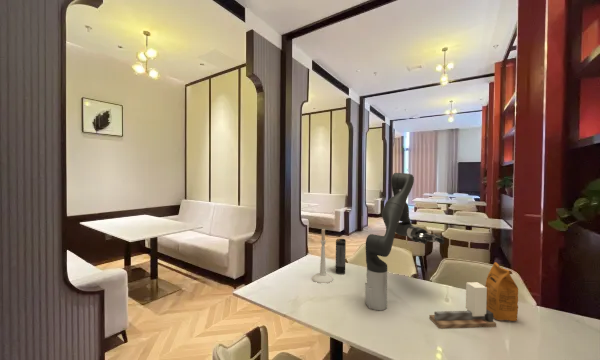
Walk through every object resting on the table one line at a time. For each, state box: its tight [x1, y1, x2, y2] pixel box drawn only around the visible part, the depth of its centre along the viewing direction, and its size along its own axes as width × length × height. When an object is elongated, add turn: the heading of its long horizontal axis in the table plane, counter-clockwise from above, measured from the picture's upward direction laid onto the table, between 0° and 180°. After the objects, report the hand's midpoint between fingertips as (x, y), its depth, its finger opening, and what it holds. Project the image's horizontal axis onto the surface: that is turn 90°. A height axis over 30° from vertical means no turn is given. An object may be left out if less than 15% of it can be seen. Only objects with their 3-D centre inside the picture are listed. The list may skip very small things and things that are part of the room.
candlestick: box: [311, 228, 335, 284], centre depth 147 cm, size 13×13×30 cm
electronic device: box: [335, 238, 347, 275], centre depth 159 cm, size 9×6×20 cm, turn 168°
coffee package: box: [485, 261, 519, 322], centre depth 111 cm, size 10×12×22 cm
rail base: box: [429, 309, 497, 329], centre depth 105 cm, size 24×7×5 cm, turn 93°
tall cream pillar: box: [465, 281, 487, 316], centre depth 105 cm, size 5×5×12 cm
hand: (434, 241), depth 119 cm, fingers open, 8 cm apart
